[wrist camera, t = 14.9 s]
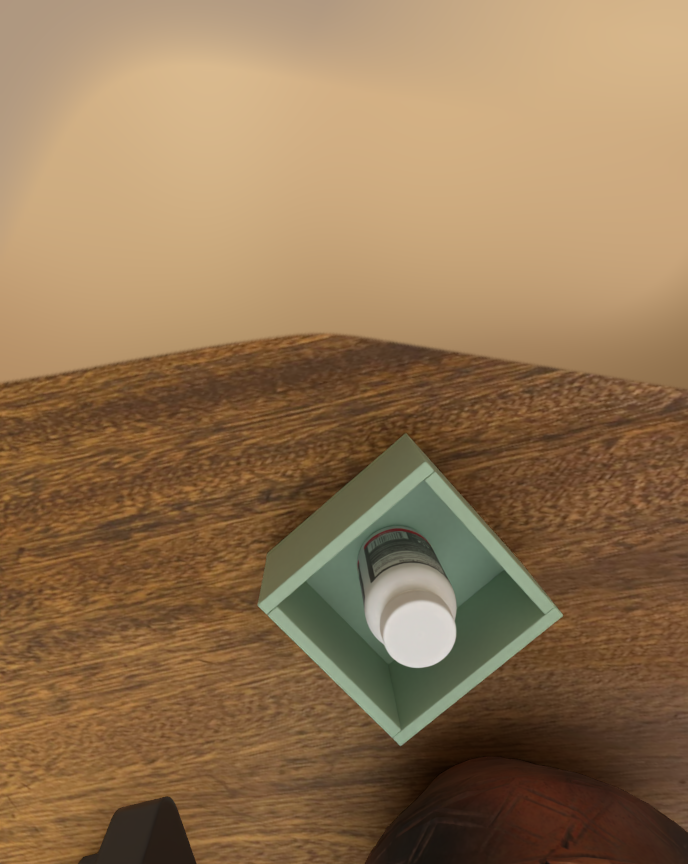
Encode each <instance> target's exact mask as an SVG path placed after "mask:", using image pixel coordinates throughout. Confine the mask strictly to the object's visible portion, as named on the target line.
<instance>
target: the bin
mask: <svg viewBox="0 0 688 864" xmlns="http://www.w3.org/2000/svg"><path fill="white" fill-rule="evenodd" d="M391 526H404V527H408V528H412V529H414V530H416V531H418V532H419V533H420V534H422V535H423V536H424V537H425V538H426V539H427V540H428V542H429V543H430V545H431V547H432V548H433V550H434V552H435V554H436V556H437V558H438V560H439V562H440V564H441V566H442V568H443V570H444V572H445V574H446V576H447V577H448V580H449V581H450V583H451V586H452V588H453V590H454V594H455V597H456V607H457V610H456V617H455V625H456V639H455V643H454V645H453V647H452V649H451V651H450V652H449V653H448V655H447V656H446V657H445V658H444V659H442V660H441V661H440V662H438V663H436V664H434V665H432V666H428V667H423V668H412V667H408V666H405V665H402V664H400V663H399V662H397V661H396V660H394V659H393V658H392V657H391V656H390V654H389V653H388V652H387V650H386V648H385V645H384V644H382V643H381V642H380V641H379V640H378V639H377V638H376V637H375V636H374V635H373V633H372V632H371V630H370V628H369V626H368V623H367V621H366V617H365V612H364V604H363V598H362V592H361V586H360V581H359V576H358V569H357V560H358V555H359V552H360V549H361V547H362V545H363V544H364V542H365V541H366V540H367V539H368V538H369V537H370V536H371V535H372V534H374V533H375V532H377V531H378V530H381V529H383V528H386V527H391ZM258 606H259V607H260V608H261V609H262V610H263V611H264V612H265V613H266V614H267V615H268V616H269V617H270V618H271V619H272V620H273V621H274V622H275V623H276V624H277V625H278V626H279V627H280V628H281V629H282V630H283V631H284V632H285V633H286V634H287V635H288V636H289V637H290V638H291V639H292V640H293V641H294V642H295V643H296V644H297V645H298V646H299V647H300V648H301V649H302V650H303V651H304V652H305V653H306V654H307V655H308V656H309V657H310V658H311V659H312V660H313V661H314V662H315V663H317V664H318V665H319V666H320V667H321V668H322V669H323V670H324V671H325V672H326V673H327V674H328V675H329V676H330V677H331V678H332V679H333V680H334V681H335V682H336V683H337V684H338V685H339V686H340V687H341V688H342V689H343V690H344V691H345V692H346V693H347V694H348V695H349V696H350V697H351V698H352V699H353V700H354V701H355V702H356V703H357V704H358V705H359V706H360V707H361V708H362V709H363V710H364V711H365V712H366V713H367V714H368V715H369V716H370V717H371V718H372V719H373V720H374V721H376V722H377V723H378V724H379V725H380V726H381V727H382V728H383V729H384V730H385V731H386V732H387V733H388V734H389V735H390V736H391V737H392V738H393V739H394V740H395V741H396V742H397V743H398V744H399V745H400V746H402V745H403V744H404V743H405V742H407V741H408V740H409V739H410V738H412V737H413V736H414V735H415V734H417V733H418V732H419V731H420V730H422V729H423V728H424V727H425V726H427V725H428V724H429V723H430V722H432V721H433V720H434V719H435V718H436V717H438V716H439V715H440V714H441V713H443V712H444V711H445V710H446V709H448V708H449V707H450V706H451V705H453V704H454V703H455V702H456V701H458V700H459V699H460V698H461V697H463V696H464V695H465V694H466V693H468V692H469V691H470V690H471V689H473V688H474V687H475V686H476V685H478V684H479V683H480V682H481V681H483V680H484V679H485V678H486V677H488V676H489V675H490V674H491V673H493V672H494V671H495V670H496V669H498V668H499V667H500V666H501V665H503V664H504V663H505V662H506V661H507V660H509V659H510V658H511V657H512V656H514V655H515V654H516V653H517V652H519V651H520V650H521V649H522V648H524V647H525V646H526V645H527V644H529V643H530V642H531V641H532V640H534V639H535V638H536V637H537V636H539V635H540V634H541V633H542V632H544V631H545V630H546V629H547V628H549V627H550V626H551V625H552V624H554V623H555V622H556V621H557V620H559V619H560V618H561V617H562V616H563V614H562V613H561V611H560V610H559V609H558V608H557V606H556V605H555V604H554V603H553V602H552V600H551V599H550V598H549V597H548V595H547V594H546V593H545V592H544V590H543V589H542V588H541V587H540V585H539V584H538V583H537V582H536V580H535V579H534V578H533V577H532V575H531V574H530V573H529V572H528V570H527V569H526V568H525V567H524V565H523V564H522V563H521V562H520V561H519V560H518V558H517V557H516V556H515V555H514V554H513V553H512V552H511V551H510V549H509V548H508V547H507V546H506V545H505V544H504V543H503V542H502V540H501V539H500V538H499V537H498V536H497V535H496V534H495V533H494V531H493V530H492V529H491V528H490V527H489V526H488V525H487V524H486V522H485V521H484V520H483V519H482V518H481V517H480V516H479V515H478V513H477V512H476V511H475V510H474V509H473V508H472V507H471V506H470V504H469V503H468V502H467V501H466V500H465V499H464V498H463V496H462V495H461V494H460V493H459V492H458V491H457V490H456V489H455V487H454V486H453V485H452V484H451V483H450V482H449V481H448V480H447V478H446V477H445V476H444V475H443V474H442V473H441V472H440V471H439V469H438V468H437V467H436V466H435V465H434V464H433V463H432V462H431V460H430V459H429V458H428V457H427V456H426V455H425V454H424V453H423V451H422V450H421V449H420V448H419V447H418V446H417V445H416V444H415V442H414V441H413V440H412V439H411V438H410V437H409V436H408V435H407V433H405V434H404V435H403V436H402V437H401V438H399V439H398V440H397V441H396V442H395V443H394V444H393V445H391V446H390V447H389V448H388V449H387V450H386V451H384V452H383V453H382V454H381V455H380V456H379V457H378V458H376V459H375V460H374V461H373V462H372V463H371V464H369V465H368V466H367V467H366V468H365V469H364V470H363V471H361V472H360V473H359V474H358V475H357V476H356V477H355V478H353V479H352V480H351V481H350V482H349V483H348V484H346V485H345V486H344V487H343V488H342V489H341V490H340V491H338V492H337V493H336V494H335V495H334V496H333V497H331V498H330V499H329V500H328V501H327V502H326V503H325V504H323V505H322V506H321V507H320V508H319V509H318V510H316V511H315V512H314V513H313V514H312V515H311V516H310V517H308V518H307V519H306V520H305V521H304V522H303V523H302V524H300V525H299V526H298V527H297V528H296V529H295V530H293V531H292V532H291V533H290V534H289V535H288V536H287V537H285V538H284V539H283V540H282V541H281V542H280V543H278V544H277V545H276V546H275V547H274V548H273V549H272V550H270V551H269V552H268V553H267V559H266V564H265V569H264V575H263V580H262V585H261V590H260V595H259V601H258Z"/></svg>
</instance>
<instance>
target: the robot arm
mask: <svg viewBox="0 0 688 864" xmlns="http://www.w3.org/2000/svg"><path fill="white" fill-rule="evenodd" d="M78 864H196V861H195V858H194V855H193V853H192V850H191V847H190V844H189V841H188V838H187V835H186V833H185V830H184V827H183V824H182V821H181V818H180V816H179V813H178V810H177V807H176V805H175V803H174V801H173V800H172V799H171V798H170V797H163V798H159V799H155V800H151V801H146V802H142V803H138V804H134V805H130V806H126V807H122V808H119V809H118V810H117V811H116V812H115V813H114V815H113V817H112V819H111V822H110V824H109V827H108V829H107V832H106V834H105V837H104V839H103V842H102V845H101V847H100V850H99V852H98V854H93V855H89V856H85V857H83V858H82V859H81V861H80V862H79V863H78Z"/></svg>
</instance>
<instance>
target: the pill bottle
mask: <svg viewBox="0 0 688 864" xmlns="http://www.w3.org/2000/svg"><path fill="white" fill-rule="evenodd" d="M357 569H358V576H359V581H360V586H361V592H362V598H363V604H364V612H365V617H366V621H367V623H368V626H369V628H370V630H371V632H372V633H373V635H374V636H375V637H376V638H377V639H378V640H379V641H380V642H381V643H382V644H384V645H385V648H386V650H387V652H388V653H389V654H390V656H391V657H392V658H393V659H394V660H396V661H397V662H399V663H400V664H402V665H405V666H408V667H412V668H423V667H428V666H432V665H434V664H436V663H438V662H440V661H441V660H442V659H444V658H445V657H446V656H447V655H448V653H449V652H450V651H451V649H452V647H453V645H454V643H455V639H456V625H455V617H456V610H457V607H456V597H455V594H454V590H453V588H452V586H451V583H450V581H449V580H448V577H447V576H446V574H445V572H444V570H443V568H442V566H441V564H440V562H439V560H438V558H437V556H436V554H435V552H434V550H433V548H432V547H431V545H430V543H429V542H428V540H427V539H426V538H425V537H424V536H423V535H422V534H420V533H419V532H418V531H416V530H414V529H412V528H408V527H404V526H391V527H386V528H383V529H381V530H378V531H377V532H375V533H374V534H372V535H371V536H370V537H369V538H368V539H367V540H366V541H365V542H364V544H363V545H362V547H361V549H360V552H359V555H358V560H357Z"/></svg>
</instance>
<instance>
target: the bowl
mask: <svg viewBox="0 0 688 864" xmlns="http://www.w3.org/2000/svg"><path fill="white" fill-rule="evenodd" d="M365 864H688V832H686V831H685V830H684V829H683V828H681V827H680V826H679V825H678V824H676V823H675V822H674V821H672V820H671V819H669V818H668V817H666V816H665V815H664V814H662V813H661V812H659V811H658V810H656V809H655V808H654V807H652V806H651V805H649V804H648V803H646V802H644V801H642V800H640V799H638V798H636V797H634V796H633V795H631V794H629V793H627V792H626V791H624V790H622V789H619V788H616V787H614V786H611V785H609V784H606V783H603V782H601V781H598V780H595V779H593V778H590V777H587V776H585V775H582V774H578V773H574V772H571V771H566V770H559V769H558V768H553V767H546V766H540V765H536V764H532V763H529V762H526V761H522V760H519V759H506V758H504V757H489V756H487V757H481V758H475V759H470V760H468V761H465V762H463V763H460V764H458V765H455V766H453V767H451V768H450V769H448V770H446V771H444V772H443V773H441V774H440V775H439V776H438V777H437V778H435V779H434V780H433V781H432V782H431V784H430V785H429V786H428V787H427V788H426V790H425V791H424V792H423V793H422V794H421V795H420V796H419V797H418V798H417V799H416V800H415V801H414V802H413V803H412V804H411V805H410V806H409V807H408V808H407V809H406V810H404V811H403V812H402V813H401V814H400V815H399V816H398V817H397V818H396V819H395V820H394V821H393V822H392V823H391V824H390V825H389V826H388V827H387V828H386V830H385V832H384V834H383V835H382V836H381V838H380V840H379V841H378V843H377V845H376V846H375V847H374V848H373V850H372V851H371V853H370V855H369V857H368V858H367V860H366V862H365Z"/></svg>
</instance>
